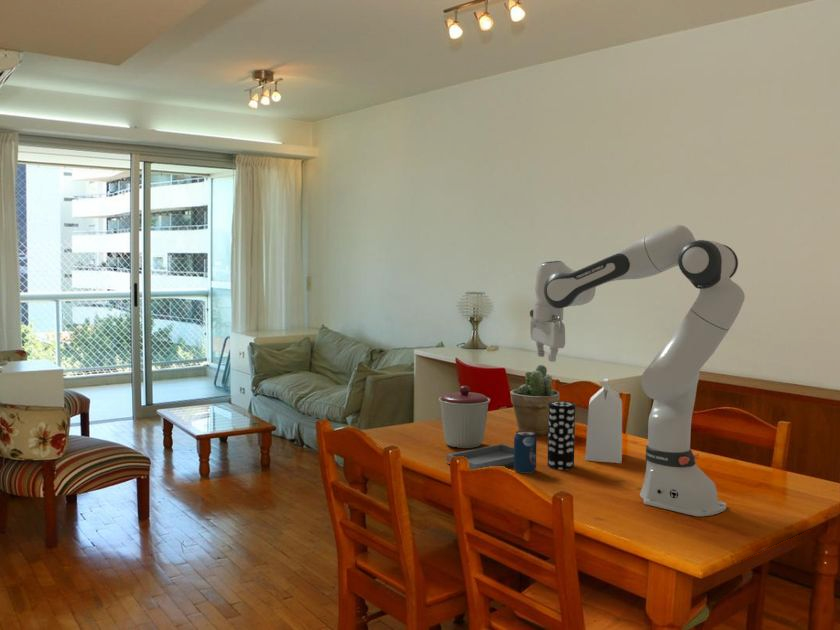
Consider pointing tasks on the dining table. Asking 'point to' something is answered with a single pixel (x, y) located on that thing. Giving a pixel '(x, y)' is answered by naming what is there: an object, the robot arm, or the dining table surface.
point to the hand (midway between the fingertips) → (546, 358)
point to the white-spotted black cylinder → (561, 435)
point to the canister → (464, 418)
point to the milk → (604, 426)
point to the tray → (488, 456)
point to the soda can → (525, 451)
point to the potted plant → (534, 401)
